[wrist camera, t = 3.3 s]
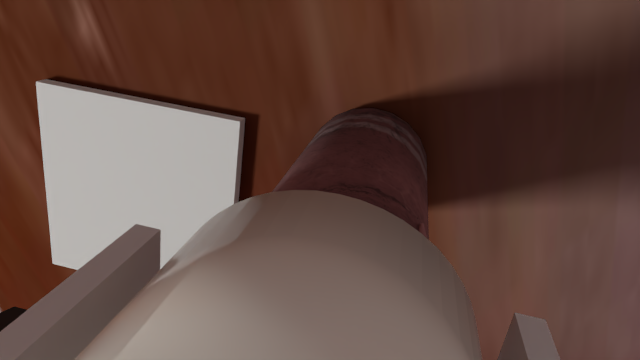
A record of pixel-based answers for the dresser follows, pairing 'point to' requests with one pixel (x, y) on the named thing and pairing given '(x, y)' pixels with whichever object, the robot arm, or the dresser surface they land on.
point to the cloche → (298, 290)
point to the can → (367, 164)
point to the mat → (131, 168)
